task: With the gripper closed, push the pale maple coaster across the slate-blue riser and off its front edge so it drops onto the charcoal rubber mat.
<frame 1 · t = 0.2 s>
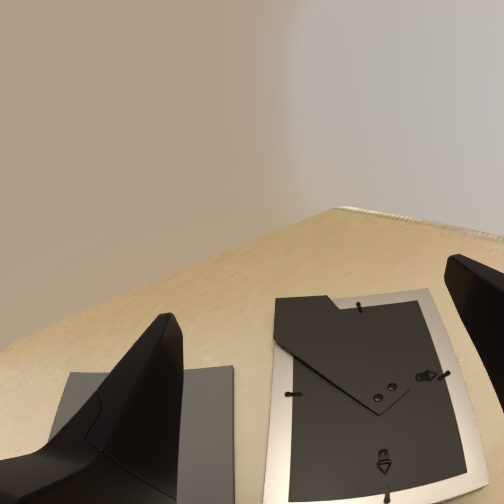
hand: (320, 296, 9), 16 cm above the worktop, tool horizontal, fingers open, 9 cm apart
picture frame: (369, 400, 22), on the worktop
rubber mat: (130, 439, 22), on the worktop
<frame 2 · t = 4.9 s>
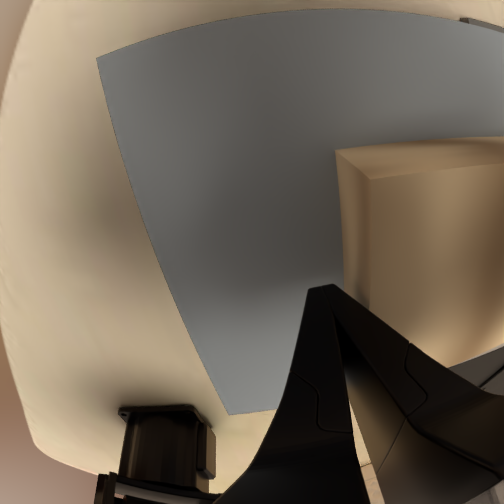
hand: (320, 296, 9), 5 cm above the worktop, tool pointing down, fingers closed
picture frame: (481, 366, 24), on the worktop
white cup: (372, 466, 34), on the worktop
coaster: (443, 246, 10), point 4 cm above the worktop, touching riser
riser: (344, 213, 13), on the worktop
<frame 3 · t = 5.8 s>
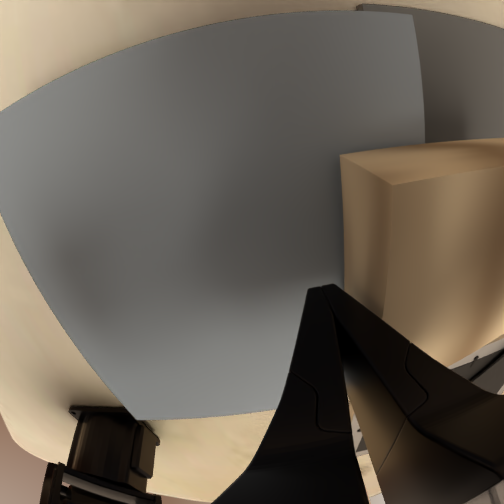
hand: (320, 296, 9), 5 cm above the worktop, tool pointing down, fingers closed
picture frame: (441, 383, 24), on the worktop
coaster: (438, 248, 10), point 4 cm above the worktop, tilted 7°
rubber mat: (485, 191, 13), on the worktop
riser: (224, 236, 14), on the worktop
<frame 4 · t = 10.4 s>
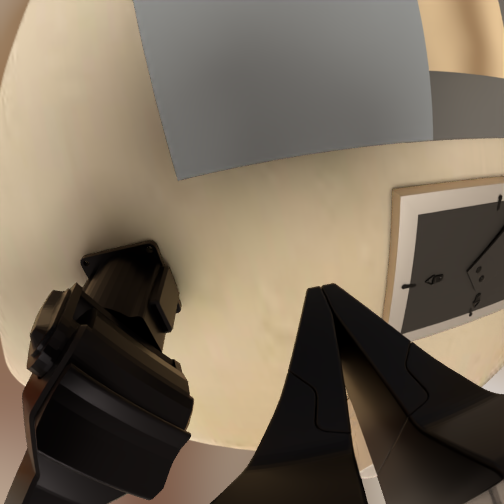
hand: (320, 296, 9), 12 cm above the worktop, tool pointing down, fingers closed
picture frame: (473, 250, 25), on the worktop
white cup: (368, 397, 35), on the worktop
coaster: (441, 17, 13), point 1 cm above the worktop, touching rubber mat
rubber mat: (465, 23, 13), on the worktop
riser: (277, 14, 14), on the worktop
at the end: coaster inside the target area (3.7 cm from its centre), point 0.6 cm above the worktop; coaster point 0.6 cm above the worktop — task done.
